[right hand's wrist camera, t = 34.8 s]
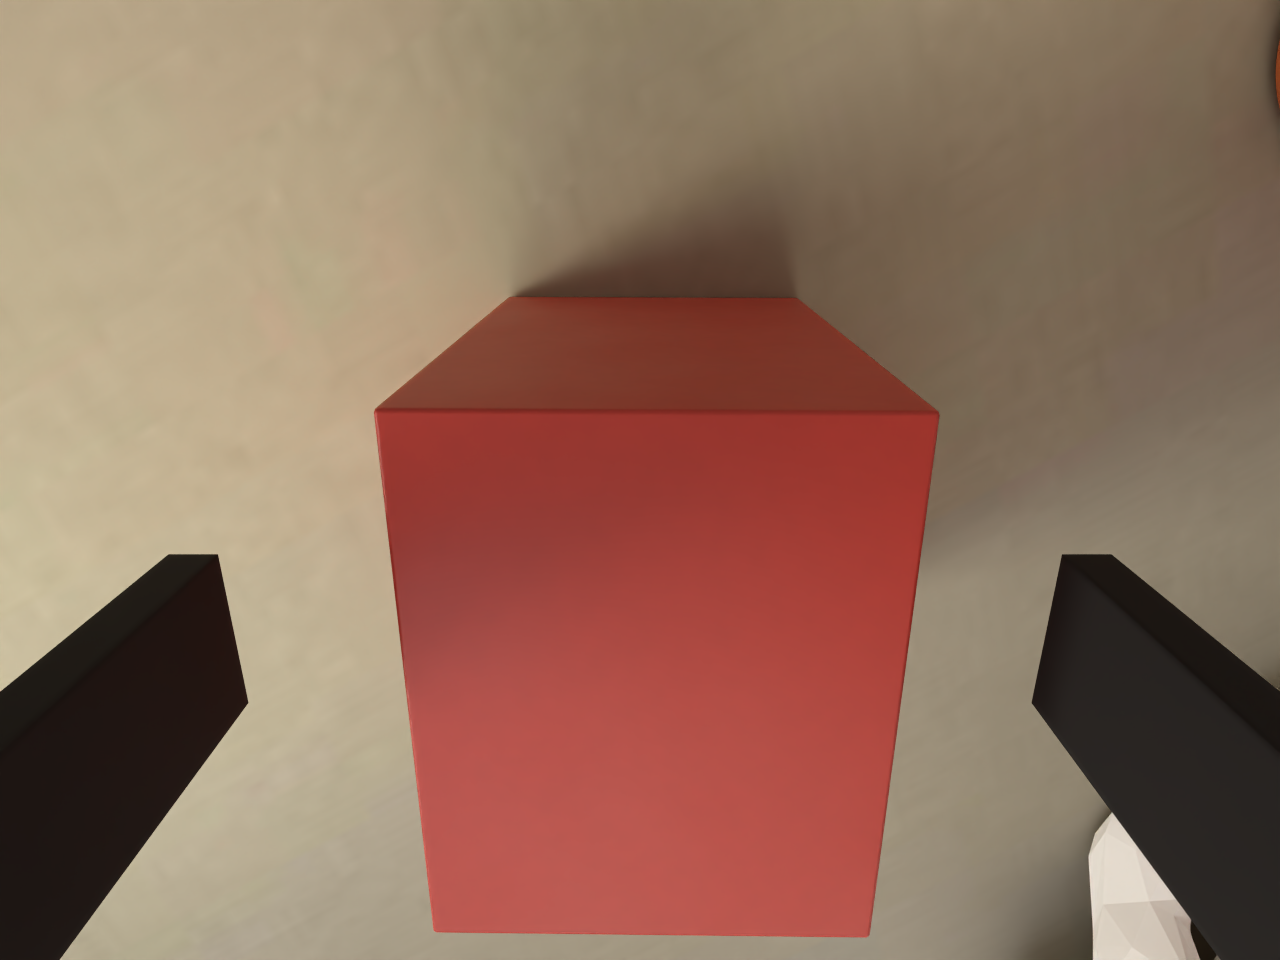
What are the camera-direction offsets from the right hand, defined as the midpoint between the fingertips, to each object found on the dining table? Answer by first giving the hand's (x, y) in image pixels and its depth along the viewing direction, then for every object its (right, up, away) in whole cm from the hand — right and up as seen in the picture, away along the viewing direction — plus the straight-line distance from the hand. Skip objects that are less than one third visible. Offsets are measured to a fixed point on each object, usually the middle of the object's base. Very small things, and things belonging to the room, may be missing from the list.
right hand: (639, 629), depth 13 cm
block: (0, +3, +8) cm, 9 cm away
